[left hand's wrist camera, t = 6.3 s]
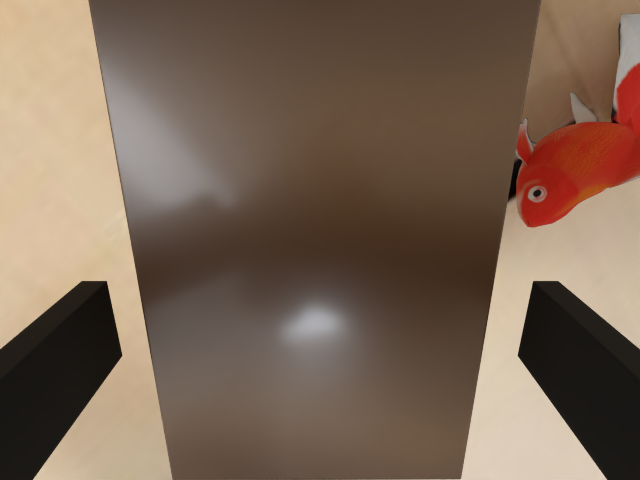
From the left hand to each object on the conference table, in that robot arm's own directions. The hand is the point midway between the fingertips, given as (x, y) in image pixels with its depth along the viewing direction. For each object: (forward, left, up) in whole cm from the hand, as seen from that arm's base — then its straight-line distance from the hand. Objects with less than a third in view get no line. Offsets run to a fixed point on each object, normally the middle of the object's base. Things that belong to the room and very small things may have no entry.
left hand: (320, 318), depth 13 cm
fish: (+5, -18, -19) cm, 26 cm away
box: (+8, 0, -7) cm, 10 cm away
